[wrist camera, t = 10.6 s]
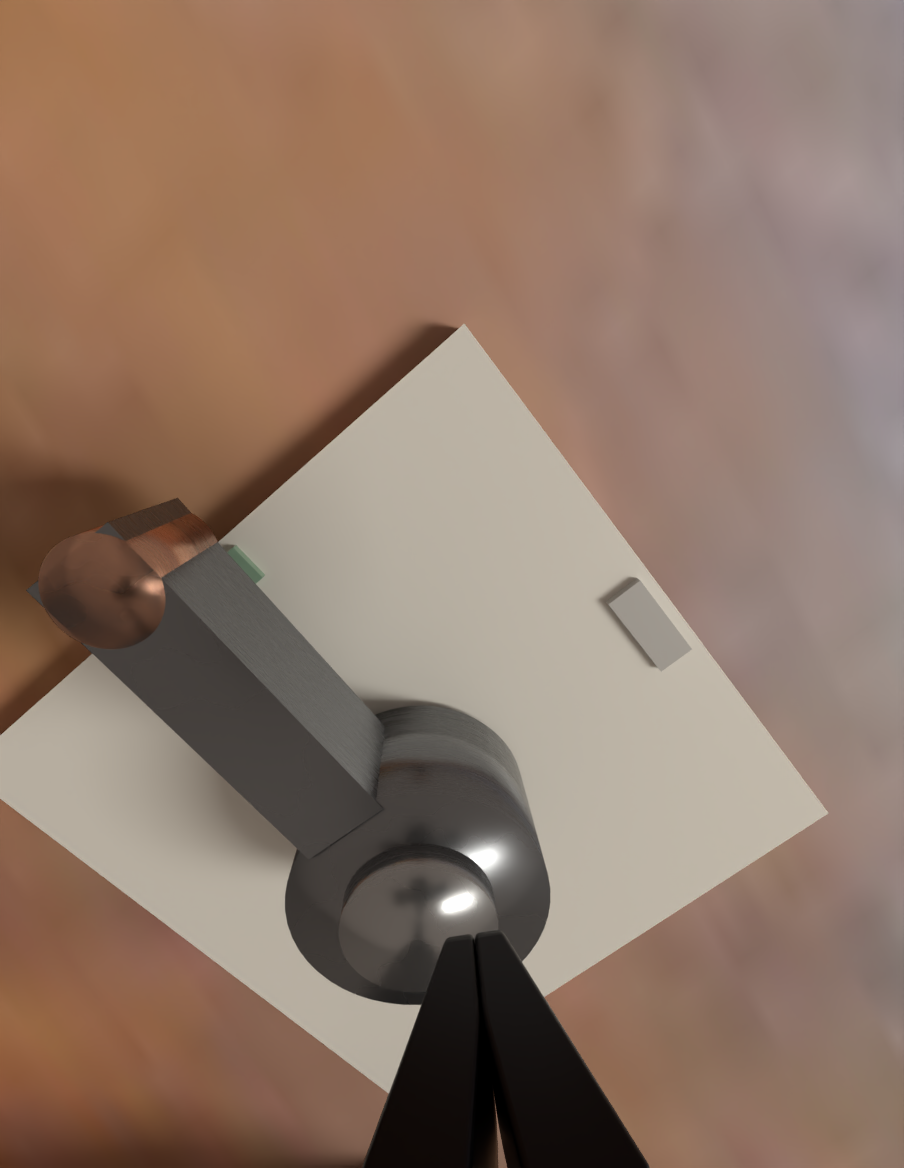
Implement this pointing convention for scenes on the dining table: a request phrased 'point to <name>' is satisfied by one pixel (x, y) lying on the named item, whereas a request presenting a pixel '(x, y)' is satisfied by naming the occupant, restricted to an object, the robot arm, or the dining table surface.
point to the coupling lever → (311, 755)
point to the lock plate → (435, 701)
